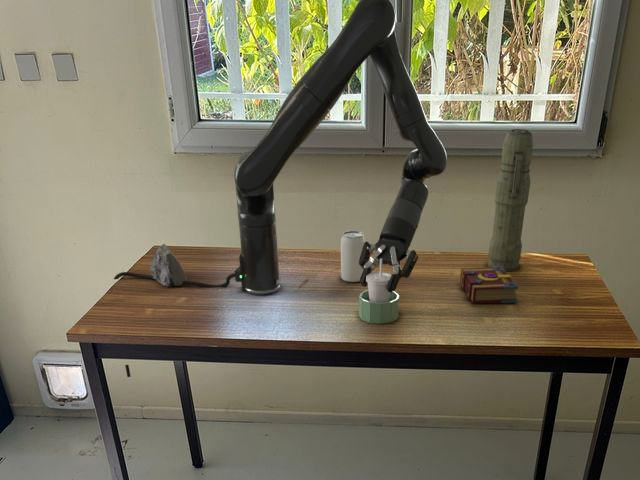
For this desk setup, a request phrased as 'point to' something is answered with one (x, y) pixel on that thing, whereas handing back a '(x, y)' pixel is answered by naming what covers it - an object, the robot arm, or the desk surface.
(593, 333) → the desk surface
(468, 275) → the decorative book
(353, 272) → the can
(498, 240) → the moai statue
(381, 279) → the smoothie
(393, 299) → the holder
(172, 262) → the mineral rock
